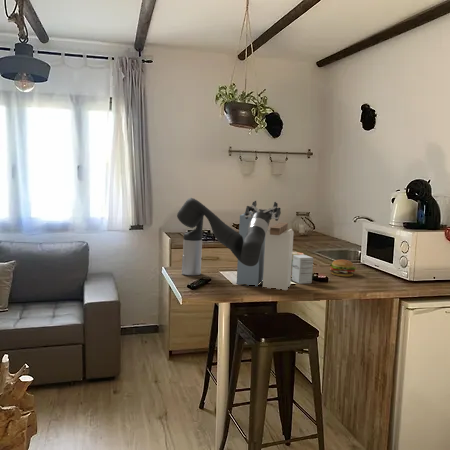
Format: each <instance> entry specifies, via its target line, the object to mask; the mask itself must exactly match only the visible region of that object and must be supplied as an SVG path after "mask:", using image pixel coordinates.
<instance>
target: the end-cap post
mask: <svg viewBox="0 0 450 450" xmlns="http://www.w3.org/2000/svg"><path fill="white" fill-rule="evenodd" d="M270 228H271V227H268V230H267V233H266V236H265V254H264V272H263V281H262V288H263V287H267V288H266V289H271V288H276V289H275V290H280V289H282V290H281V291H287V290H289V288H290V286H291V281H292V278H291V266H292V252H293V249H294V233H295V232H294V230H293V228H290V229H289V228H288V229H287V230H286V231H285V232H283V233H282V234H280V235H270ZM288 287H289V288H288Z"/></svg>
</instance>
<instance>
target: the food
mask: <svg viewBox="0 0 450 450" xmlns="http://www.w3.org/2000/svg"><path fill="white" fill-rule="evenodd" d="M357 269H358V267H356V266H355V265H354V263H353V262H352V261H350V260H347V259H341V258H339V259H336V260H333V261H332V263H330V264H329V272H330V273H331V274H332V275H333V276H337V277H343V278H344V277H345V278H346V277H347V278H348V277H353V276H354V273H355V272H356V270H357Z"/></svg>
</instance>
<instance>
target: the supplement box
mask: <svg viewBox="0 0 450 450" xmlns="http://www.w3.org/2000/svg"><path fill="white" fill-rule="evenodd" d="M313 267H314V257H312V256H309V255H307V254H304V255H293V267H292V278H291V281H293V282H295V283H297V284H300V285H301V284H312V281H313V269H314V268H313Z"/></svg>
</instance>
